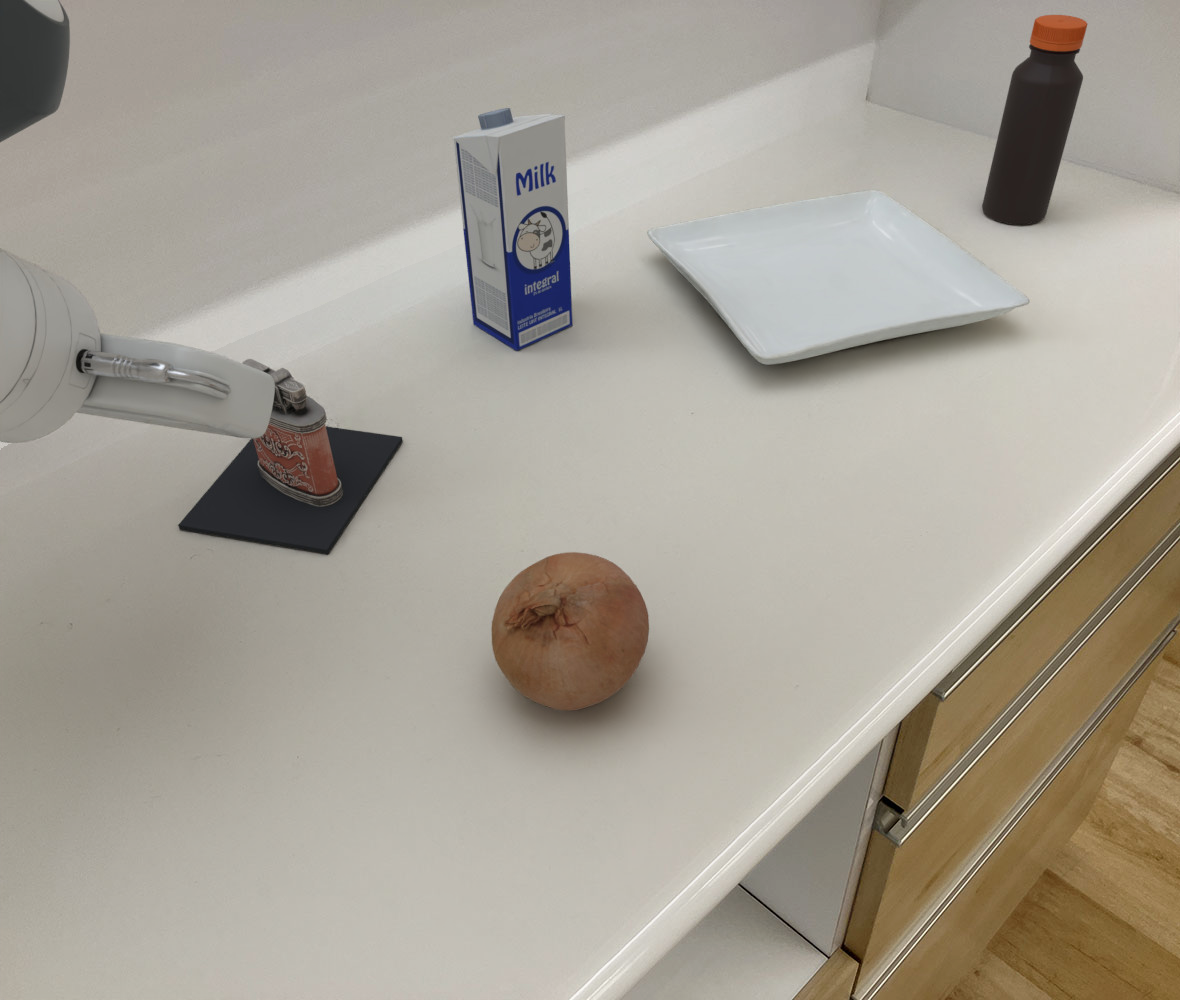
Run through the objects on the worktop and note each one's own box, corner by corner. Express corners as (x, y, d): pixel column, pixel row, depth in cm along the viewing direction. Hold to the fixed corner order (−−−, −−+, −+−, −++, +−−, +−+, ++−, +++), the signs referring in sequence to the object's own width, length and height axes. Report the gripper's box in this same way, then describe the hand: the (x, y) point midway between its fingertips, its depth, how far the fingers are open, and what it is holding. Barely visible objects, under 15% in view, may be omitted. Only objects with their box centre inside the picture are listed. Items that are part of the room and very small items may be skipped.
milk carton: (515, 352, 95) (498, 134, 83) (471, 325, 99) (448, 113, 87) (574, 325, 99) (566, 112, 86) (529, 300, 103) (516, 92, 90)
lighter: (353, 489, 80) (329, 378, 73) (319, 513, 78) (292, 401, 71) (283, 453, 83) (255, 344, 77) (249, 474, 81) (217, 364, 75)
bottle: (993, 195, 119) (1037, 8, 107) (1053, 209, 116) (1106, 18, 104) (972, 216, 115) (1015, 24, 103) (1034, 231, 112) (1086, 35, 99)
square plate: (872, 217, 116) (877, 183, 113) (1026, 336, 96) (1037, 297, 93) (643, 257, 110) (643, 222, 107) (756, 393, 89) (759, 354, 87)
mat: (179, 530, 77) (177, 525, 77) (269, 422, 88) (268, 418, 87) (328, 554, 75) (327, 549, 74) (403, 441, 85) (402, 436, 85)
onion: (553, 754, 65) (498, 711, 56) (500, 628, 69) (442, 570, 61) (689, 683, 64) (655, 628, 56) (627, 561, 69) (587, 494, 61)
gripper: (204, 308, 48) (331, 374, 62) (-160, 262, 53) (34, 334, 66) (177, 441, 48) (312, 479, 62) (-187, 385, 52) (14, 431, 66)
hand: (166, 403), depth 64 cm, fingers open, 8 cm apart
